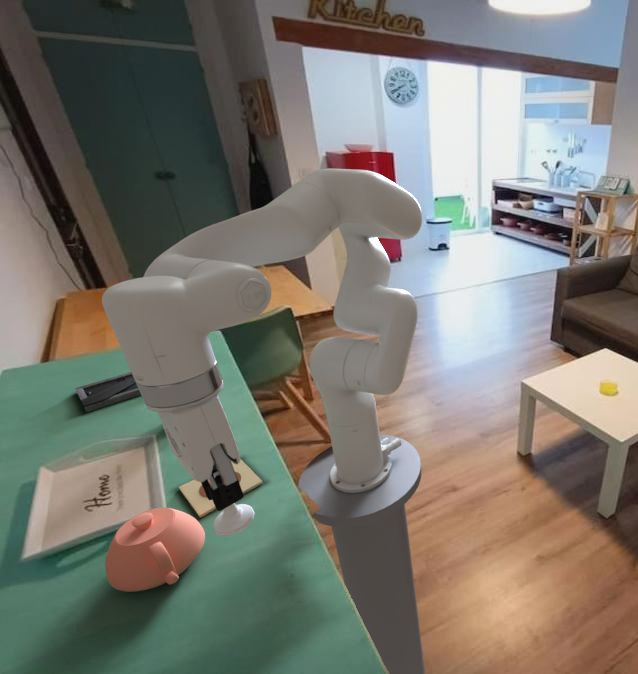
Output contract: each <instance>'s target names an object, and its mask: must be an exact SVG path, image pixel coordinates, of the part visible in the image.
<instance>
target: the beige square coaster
mask: <svg viewBox="0 0 638 674" xmlns="http://www.w3.org/2000/svg"><path fill="white" fill-rule="evenodd" d="M231 462H232V461H231ZM232 465H233V468H234V471H235V473H236V475H237V478H238V481H239V484H240V486H241V489H242V492H243V495H244V494H246V493H248V492H250V491H252V490H253V489H255V488H257V487H259V486H261V485H263V483H264V482H263V480H262V479H261V478H260V477H259V476H258V475H257V474H256V473H255V472H254V471H253V470H252V468H250V467H249V466H248V465H247V464H246V463H245V461H243V460H242V459H241V458H240V462H239V463H238V464H234V463H233V462H232ZM178 490H179V491H180V492H181V494H182V495H183V497H184V498H185V499H186V501H187V502H188V503H189V505H190V506H191V508H192V509H193V510H194V512H195V513H196V515H197V516H198V517H199V519H200V518H203V517H205V516H206V515H208V514H210V513H211V512H213V511H215V510H217V509H216V507H215V505H214V502H213V500H209V499H208V498H207V496H206V493H205V491H204V489H203V486H202V484H201V482H198V481H196V480H194V479H192V480H190V481H188V482H185V483H183V484H182V485H179V486H178Z"/></svg>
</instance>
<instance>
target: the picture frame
mask: <svg viewBox="0 0 638 674" xmlns="http://www.w3.org/2000/svg"><path fill="white" fill-rule="evenodd" d="M74 389H75V392H76V394H77V395H78V397H79V400H80V401H81V404H82V406H83V408H84V410H85V412H86V413H89V412H92V411H97V410H99V409H102V408H105V407H108V406H112V405H114V404H117V403H120V402H123V401H126V400H129V399H133V398H135V397H139V396H142V395H141V393H140V391H139V388H138V386H137V384H136V381H135V379H134V377H133V375H132V372H131V371H130V372H125V373H122V374H120V375H116V376H113V377H109V378H106V379H102V380H99V381H95V382H92V383H88V384H85V385H81V386H78V387H75V388H74Z"/></svg>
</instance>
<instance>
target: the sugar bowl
mask: <svg viewBox="0 0 638 674" xmlns="http://www.w3.org/2000/svg"><path fill="white" fill-rule="evenodd" d="M205 541H206V532H205V530H204V528H203V526H202V525H201V523H200V522H199V521H198V520H197V519H196V518H195V517H193V516H192V515H190V514H189V513H187V512H184V511H182V510H179V509H175V508H171V507H156V508H151V509H148V510H144V511H142V512H140V513H138V514H136V515H135V516H133V517H131V518H130V519H128V520H127V521H126V522H125V523H123V524H122V525H121V526H120V527H119V528H118V529H117V530H116V532H115V534H114V536H113V538H112V539H111V542H110V543H109V547H108V549H107V553H106V556H105V563H104V569H105V575H106V579H107V581H108V583H109V585H110V586H111V587H113V588H114V589H116V590H118V591H121V592H130V593H131V592H143V591H148V590H151V589H154V588H157V587H159V586H163V585H164V584H168V585H173V584H175V583H177V582H178V580H179V578H180V576H179V575H181V574H182V573H184V571H186V570H187V569H188V568H189V567H190V566H191V565H192V564H193V562H194V561H195V560H196V559H197V557H198V556H199V554H200V553H201V551H202V549H203V547H204V545H205Z"/></svg>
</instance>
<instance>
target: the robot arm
mask: <svg viewBox="0 0 638 674" xmlns="http://www.w3.org/2000/svg"><path fill="white" fill-rule="evenodd" d="M422 224H423V212H422V209H421V206H420V204H419V202H418V200H417V199H416V198H415V196H414V195H413V194H412V193H410V192H408V191H407V190H406V189H404V188H403V187H401V186H399V185H398V184H396V183H395V182H394V181H392V180H391V179H389V178H387V177H385V176H384V175H382V174H380V173H378V172H375V171H372V170H367V169H354V168H353V169H351V168H333V167H331V168H328V167H327V168H320V169H316V170H313V171H311V172H310V173H308V174H307V175H305V176H304V177H302V178H301V179H300V180H299V181H297V182H296V183H294V184H293V185H292V186H291V187H289V188H287V190H285V191H283V193H281V194H280V195H278V196H277V197H275V198H274V199H273V200H272V201H270V202H268V203H267V204H266V205H264V206H262V207H260V208H255V209H253V210H249V211H246V212H244V213H241V214H239V215H236V216H233V217H231V218H228V219H225V220H222V221H219V222H216V223H213V224H211V225H209V226H205V227H204V228H200V229H199V230H196V231H195V232H193V233H191V234H189V235H187V236H185V237H184V238H183V239H181V240H179V241H177V243H175V244H173V245H171V246H170V247H169V248H168V249H166V250H165V251H164V252H162V253H161V254H160V255H158V256H157V257H156V258H155V259H154V260H153V261H152V262H151V263H150V265H148V267H147V268H146V270H145V272H144V274H143V277H137V278H132V279H128V280H124V281H121V282H118V283H115V284H113V285H111V286H109V287H107V289H106V290H105V291H104V292H103V294H102V296H101V304H102V307H103V310H104V313H105V315H106V317H107V319H108V322H109V324H110V326H111V329H112V331H113V334H114V335H115V338H116V340H117V343H118V345H119V347H120V349H121V352H122V354H123V357H124V359H125V361H126V363H127V366H128V368H129V370H130V372H132V375H133V377H134V379H135V381H136V384H137V386H138V388H139V391H140V393H141V395H140V396H141V398H142V400H143V402H144V405H145V407H146V408H147V409H148V410H150V411H153V412H157V413H158V417H159V420H160V422H161V425H162V428H163V430H164V433H165V435H166V438H167V441H168V444H169V446H170V450H171V452H172V454H173V455H174V457H175V458H176V460H178V462H179V463H180V464H181V466H182V467H183V468H184V469H185V471H187V473H188V474H189V475H190V476H191V478H192V480H196V481H198V482H201V484H202V486H203V489H204V491H205V493H206V496H207V498H208V499H209V500H213V502H214V505H215V507H216V509H215V510H217V511H218V512H222V511H223V509H225V508H227V507H228V506H230V505H232V504H234V503H235V504H236V503H237V502H238V501H241V500H242V499H243V498H244V496H245V495H244V494H243V492H242V489H241V486H240V484H239V481H238V478H237V475H236V473H235V471H234V468H233V465H232V462H233V463H234V464H238V463H239V462H240V459H241V454H240V450H239V447H238V445H237V441H236V438H235V435H234V433H233V430H232V427H231V423H230V422H229V419H228V417H227V414H226V412H225V408H224V407H223V403H222V402H221V400H220V397H219V394H220V393H221V392H222V390H223V389H224V386H225V385H224V380H223V377H222V374H221V371H220V368H219V366H218V362H217V358H216V356H215V353H214V349H213V347H212V344H211V340H210V338H209V334H210V333H212V332H215V331H216V332H217V331H220V330H223V329H226V328H231V327H235V326H239V325H242V324H245V323H248V322H251V321H253V320H254V319H256V318H258V317H259V316H260V315H262V314H263V313H264V312H265V310H266V309H267V308H268V306H269V304H270V302H271V300H272V286H271V284H270V281H269V279H268V278H267V277H266V275H265V274H264V273H263V272H261V271H260V270H259V269H257V268H256V267H258V266H264V265H269V264H276V263H277V264H278V263H282V262H287V261H291V260H296V259H300V258H302V257H305V256H308V255H310V254H311V253H312V252H314V251H315V250H316V249H317V247H319V245H320V244H322V243H323V242H324V241H325V240H326V239H327V238H328V237H329V236H330V235H331V234H332V233H333V232H334V231H335V230H336V229H338V230H339V232H340V235H341V237H342V240H343V243H344V246H345V251H346V263H345V268H344V272H343V275H342V278H341V281H340V285H339V289H338V292H337V296H336V298H335V302H334V308H333V314H332V315H333V316H332V317H333V321H334V323H335V325H336V326H337V327H338V328H339V329H341V330H343V331H345V332H350V333H354V334H360V335H368V336H373V337H374V336H375V337H379V341H378V342H377V341H371V340H370V341H369V340H364V339H358V338H357V339H356V338H351V337H343V336H332V337H328V338H325V339H322V340H320V341H319V342H317V343H316V345H314V347H313V348H312V350H311V351H310V354H309V361H308V366H309V373H310V375H311V378H312V380H313V382H314V384H315V386H316V388H317V390H318V393H319V396H320V398H321V401H322V404H323V409H324V414H325V420H326V425H327V429H328V434H329V439H330V443H331V446H332V449H333V454H334V459H335V464H334V465H333V467H332V469H331V471H330V480H331V483H332V485H333V486H334V487H335V488H336V489H338V490H340V491H342V492H347V493H358V492H364V491H367V490H370V489H372V488H374V487H376V486H378V485H380V484H381V483H382V482H383V481H384V480H385V479H386V478H387V477H388V476H389V474H390V472H391V469H392V463H391V459H390V457H389V455H390V454H391V451H392V450H395V449H397V448H398V447H400V446H401V445H402V444H401V441H400V440H399V439H398V438H399V437H398V438H397V439H395V440H394V441H392V442H390V441H389V439H388V438H385V439H383V440H382V441H381V438H380V435H381V432H380V426H379V417H378V411H377V403H376V398H375V395H379V396H388V395H389V396H390V395H392V394H394V393H395V392H396V391H398V390H399V388H400V387H401V385H402V384H403V380H404V378H405V375H406V371H407V367H408V364H409V359H410V355H411V351H412V347H413V342H414V338H415V335H416V334H415V333H416V331H417V330H416V329H417V324H418V317H419V315H418V305H417V301H416V299H415V297H414V296H413V295H412V293H410V292H409V291H406V290H405V289H401V288H394V287H389V286H388V285H389V283H390V277H391V273H392V272H391V271H392V265H391V264H392V263H391V260H390V258H389V256H388V253H387V252H386V251H385V249H384V247H383V245H382V244H381V242H380V241H379V239H391V240H399V241H400V240H401V241H405V240H410V239H413V238H414V237H416V236H417V235H418V233H420V232H419V231H420V230H421V227H422ZM389 442H390V443H389ZM388 443H389V444H388ZM386 444H388V445H386ZM231 461H232V462H231ZM217 471H218V472H219V475H217V476H215V478H214V476H213V473H215V472H217Z"/></svg>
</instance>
